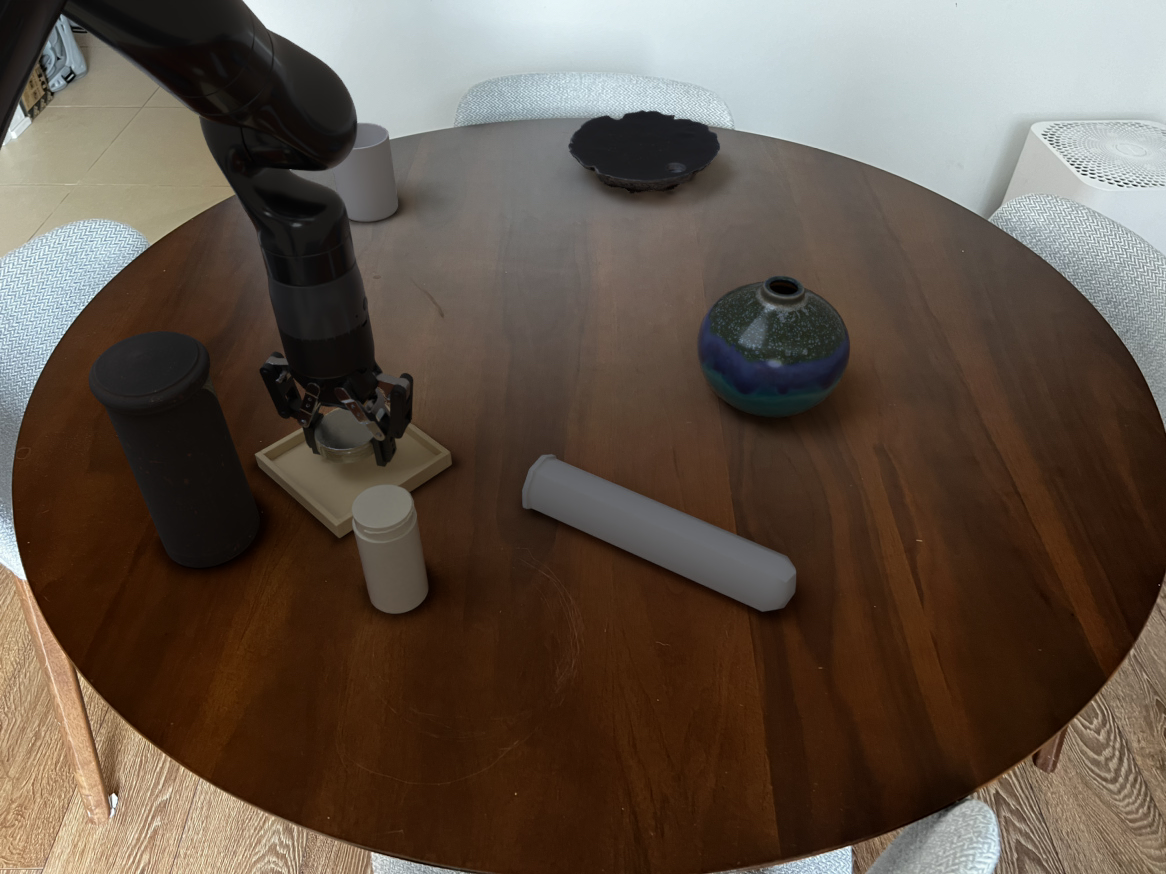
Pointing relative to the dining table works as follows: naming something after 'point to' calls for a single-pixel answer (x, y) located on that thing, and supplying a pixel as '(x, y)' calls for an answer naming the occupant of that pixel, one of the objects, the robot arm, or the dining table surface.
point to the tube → (660, 534)
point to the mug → (368, 176)
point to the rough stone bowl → (644, 150)
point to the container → (178, 445)
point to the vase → (773, 348)
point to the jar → (390, 548)
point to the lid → (343, 438)
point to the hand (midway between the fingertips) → (353, 454)
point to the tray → (348, 473)
